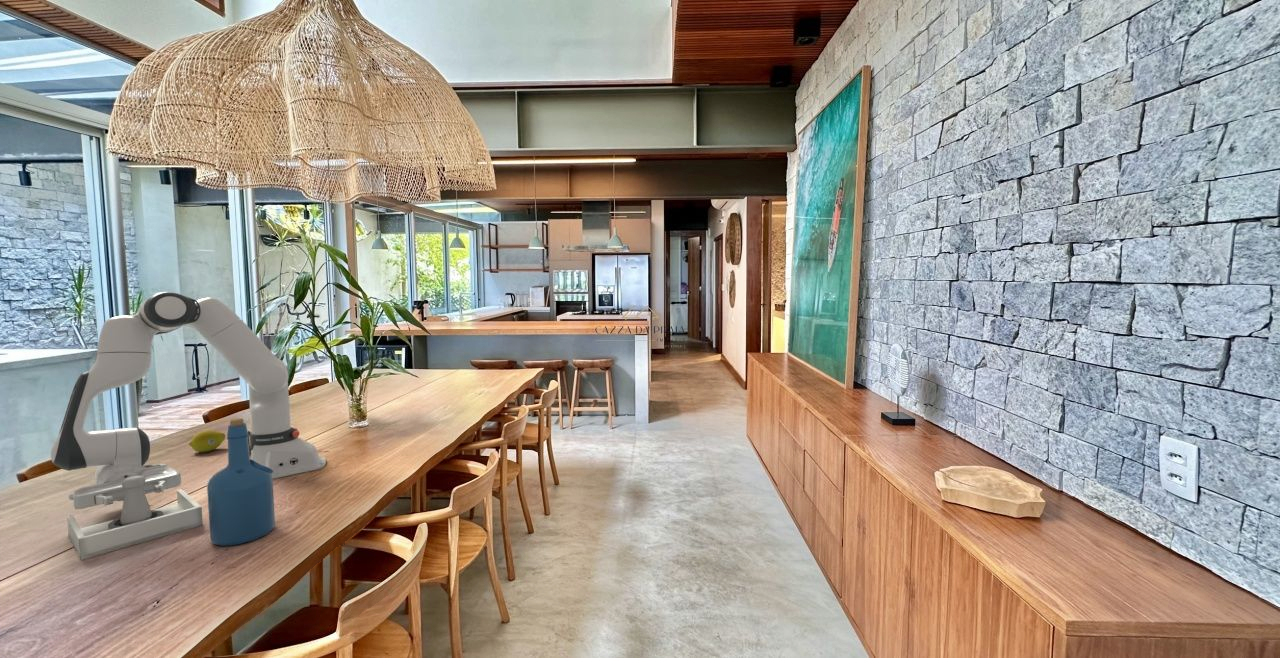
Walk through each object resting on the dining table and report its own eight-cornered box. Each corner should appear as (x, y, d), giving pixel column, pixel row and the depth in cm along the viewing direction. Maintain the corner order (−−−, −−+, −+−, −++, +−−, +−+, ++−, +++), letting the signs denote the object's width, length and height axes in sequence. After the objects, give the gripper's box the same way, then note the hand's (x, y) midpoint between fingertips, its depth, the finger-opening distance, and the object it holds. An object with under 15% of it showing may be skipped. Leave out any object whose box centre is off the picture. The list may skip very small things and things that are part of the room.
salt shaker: (132, 532, 129) (128, 482, 128) (114, 530, 130) (110, 480, 129) (158, 522, 135) (154, 474, 134) (141, 520, 136) (137, 472, 135)
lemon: (190, 456, 190) (189, 435, 190) (188, 451, 196) (187, 431, 195) (227, 450, 198) (226, 430, 197) (225, 445, 203) (223, 426, 203)
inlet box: (68, 535, 130) (67, 516, 129) (182, 505, 147) (181, 489, 147) (80, 560, 118) (78, 539, 117) (202, 525, 135) (201, 506, 135)
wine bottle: (222, 553, 121) (214, 429, 118) (200, 538, 128) (192, 421, 125) (287, 530, 132) (281, 416, 130) (263, 518, 139) (257, 410, 137)
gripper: (66, 483, 131) (74, 496, 123) (172, 461, 147) (185, 472, 139) (68, 507, 131) (76, 522, 123) (174, 483, 148) (187, 494, 139)
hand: (135, 495), depth 131 cm, fingers open, 8 cm apart
